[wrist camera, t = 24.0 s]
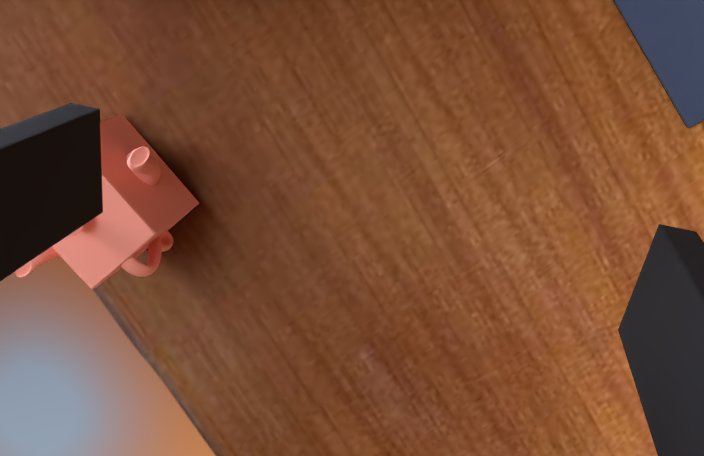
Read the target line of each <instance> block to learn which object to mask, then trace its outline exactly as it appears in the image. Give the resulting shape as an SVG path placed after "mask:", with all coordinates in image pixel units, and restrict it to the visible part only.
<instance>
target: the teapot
mask: <svg viewBox="0 0 704 456" xmlns="http://www.w3.org/2000/svg"><path fill="white" fill-rule="evenodd" d="M100 135H101V166H102V197H103V212H102V213H101V214H100V215H98V216H97V217H95V218H94V219H92V220H91V221H89V222H88V223H86V224H85V225H83V226H82V227H80V228H79V229H77V230H76V231H74V232H73V233H71V234H70V235H68V236H67V237H65V238H64V239H62V240H61V241H59V242H58V243H56V244H55V245H53V246H52V247H50V248H49V249H47V250H46V251H44V252H43V253H41V254H40V255H38V256H37V257H35V258H34V259H32V260H31V261H29V262H28V263H26V264H25V265H24V266H22V267H21V268H19V269H18V270H16V271H15V274H16V276H18V277H24V276H26V275H28V274H29V273H31V272H32V271H34V270H35V269H36V268H37V267H39V266H41V265H43V264H44V263H46V262H48V261H50V260H53V259H55V258H58V257H60V256H61V257H62V258H63V259H64V260H65V261H66V262H67V264H68V265H70V267H71V268H72V269H73V270H74V271H75V272H76V273H77V274H78V275H79V276H80V277H81V279H83V281H84V282H85V283H86V284H87V285H88V286H89V287H90V288H91V289H94V288H95V287H97V286H98V285H100V284H101V283H102V282H104V281H105V280H106V279H108V278H109V277H110V276H112V275H113V274H114V273H116V272H117V271H119V270H120V269H121V268H123V269H124V270H126V271H127V272H129V273H130V274H132V275H135V276H139V277H145V276H149V275H151V274H152V273H154V272H155V271H156V270H157V268H158V267H159V264H160V261H161V252H164V251H167V250H169V249H170V248H171V247H172V245H173V237H172V235H171V234H170V233H169V231H168V230H169V229H170V228H171V227H173V226H174V225H175V224H176V223H177V222H178V221H180V220H181V219H182V218H183V217H184V216H185V215H186V214H188V213H189V212H190V211H191V210H192V209H193V208H195V207H196V206H197V205H198V204H199V202H198V201H197V200H196V198H195V197H194V196H193V195H192V194H191V193H190V192H189V190H188V189H187V188H186V187H185V186H184V185H183V183H182V182H181V181H180V180H179V179H178V178H177V177H176V175H175V174H174V173H173V172H172V171H171V170H170V168H169V167H168V166H167V165H166V164H165V163H164V162H163V160H162V159H161V158H160V157H159V156H158V155H157V153H156V152H155V151H154V150H153V149H152V148H151V147H150V145H149V144H148V143H147V142H146V141H145V140H144V139H143V137H142V136H141V135H140V134H139V133H138V132H137V131H136V129H135V128H134V127H133V126H132V125H131V124H130V122H129V121H128V120H127V119H126V118H125V117H124V116H123V115H119V116H116V117H113V118H110V119H107V120H104V121H101V122H100ZM147 248H148V265H146V264H143V263H141V262H140V261H138V260H137V259H136V257H138V256H139V255H140V254H141V253H143V252H144V251H145V250H146V249H147Z"/></svg>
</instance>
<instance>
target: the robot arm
mask: <svg viewBox="0 0 704 456" xmlns="http://www.w3.org/2000/svg"><path fill="white" fill-rule="evenodd" d="M102 212H103V197H102V166H101V135H100V109H96V108H92V107H87V106H82V105H77V104H72V103H70V104H67V105H65V106H62V107H59V108H56V109H54V110H51V111H48V112H45V113H43V114H40V115H37V116H34V117H32V118H29V119H26V120H23V121H21V122H18V123H15V124H12V125H10V126H7V127H4V128H2V129H0V281H1V280H3V279H4V278H6V277H7V276H9V275H10V274H12V273H13V272H15V271H16V270H18V269H19V268H21V267H22V266H24V265H25V264H26V263H28V262H29V261H31V260H32V259H34V258H35V257H37V256H38V255H40V254H41V253H43V252H44V251H46V250H47V249H49V248H50V247H52V246H53V245H55V244H56V243H58V242H59V241H61V240H62V239H64V238H65V237H67V236H68V235H70V234H71V233H73V232H74V231H76V230H77V229H79V228H80V227H82V226H83V225H85V224H86V223H88V222H89V221H91V220H92V219H94V218H95V217H97V216H98V215H100V214H101V213H102ZM618 331H619V334H620V337H621V340H622V343H623V347H624V350H625V353H626V356H627V359H628V362H629V366H630V369H631V372H632V375H633V378H634V381H635V385H636V388H637V391H638V394H639V397H640V400H641V403H642V407H643V410H644V413H645V416H646V419H647V422H648V426H649V429H650V432H651V435H652V438H653V441H654V445H655V448H656V451H657V454H658V456H704V242H703V241H702V240H701V238H700V237H699V235H698V234H697V232H694V231H690V230H685V229H680V228H675V227H670V226H665V225H660V224H659V226H658V229H657V231H656V234H655V236H654V239H653V241H652V244H651V247H650V249H649V252H648V254H647V257H646V259H645V262H644V265H643V267H642V270H641V272H640V275H639V277H638V280H637V283H636V285H635V288H634V290H633V293H632V295H631V298H630V301H629V303H628V306H627V308H626V311H625V314H624V316H623V319H622V321H621V324H620V326H619V329H618Z"/></svg>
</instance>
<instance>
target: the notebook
mask: <svg viewBox="0 0 704 456" xmlns="http://www.w3.org/2000/svg"><path fill="white" fill-rule="evenodd" d="M613 1H614V2H615V4H616V6H617V7H618V9H619V11H620V13H621V14H622V16H623V18H624V20H625V21H626V23H627V25H628V26H629V28H630V30H631V32H632V33H633V35H634V37H635V38H636V40H637V42H638V44H639V45H640V47H641V49H642V51H643V52H644V54H645V56H646V57H647V59H648V61H649V63H650V64H651V66H652V68H653V69H654V71H655V73H656V75H657V76H658V78H659V80H660V82H661V83H662V85H663V87H664V88H665V90H666V92H667V94H668V95H669V97H670V99H671V100H672V102H673V104H674V106H675V107H676V109H677V111H678V113H679V114H680V116H681V118H682V119H683V121H684V123H685V125H686V126H687V127H688V128H690V127H692V126H694V125H696V124H697V123H699V122H701V121H703V120H704V0H613Z"/></svg>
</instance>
